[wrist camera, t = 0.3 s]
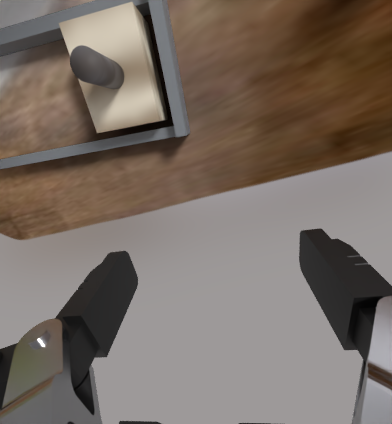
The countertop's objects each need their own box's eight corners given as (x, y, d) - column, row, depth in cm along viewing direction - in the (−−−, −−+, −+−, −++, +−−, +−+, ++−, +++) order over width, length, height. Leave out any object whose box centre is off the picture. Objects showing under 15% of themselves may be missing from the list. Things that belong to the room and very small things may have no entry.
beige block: (87, 40, 29) (12, -4, 18) (148, 23, 28) (106, -35, 17) (115, 130, 34) (69, 137, 23) (168, 119, 33) (145, 122, 22)
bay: (-67, 61, 32) (-112, 52, 28) (165, -6, 27) (155, -31, 22) (-5, 169, 39) (-33, 176, 35) (190, 132, 34) (186, 135, 29)
